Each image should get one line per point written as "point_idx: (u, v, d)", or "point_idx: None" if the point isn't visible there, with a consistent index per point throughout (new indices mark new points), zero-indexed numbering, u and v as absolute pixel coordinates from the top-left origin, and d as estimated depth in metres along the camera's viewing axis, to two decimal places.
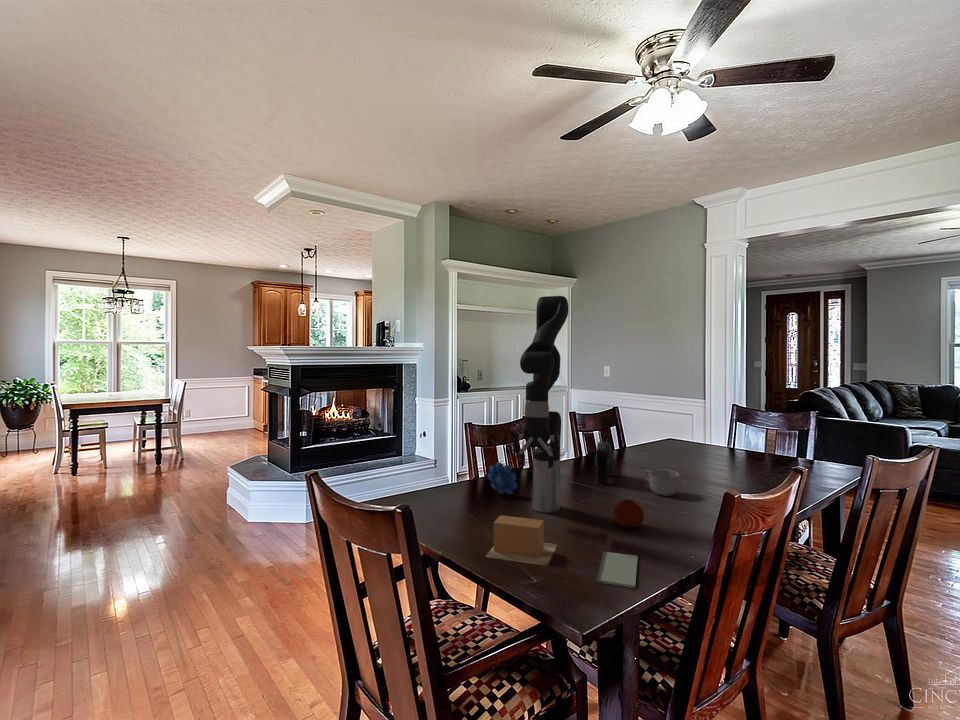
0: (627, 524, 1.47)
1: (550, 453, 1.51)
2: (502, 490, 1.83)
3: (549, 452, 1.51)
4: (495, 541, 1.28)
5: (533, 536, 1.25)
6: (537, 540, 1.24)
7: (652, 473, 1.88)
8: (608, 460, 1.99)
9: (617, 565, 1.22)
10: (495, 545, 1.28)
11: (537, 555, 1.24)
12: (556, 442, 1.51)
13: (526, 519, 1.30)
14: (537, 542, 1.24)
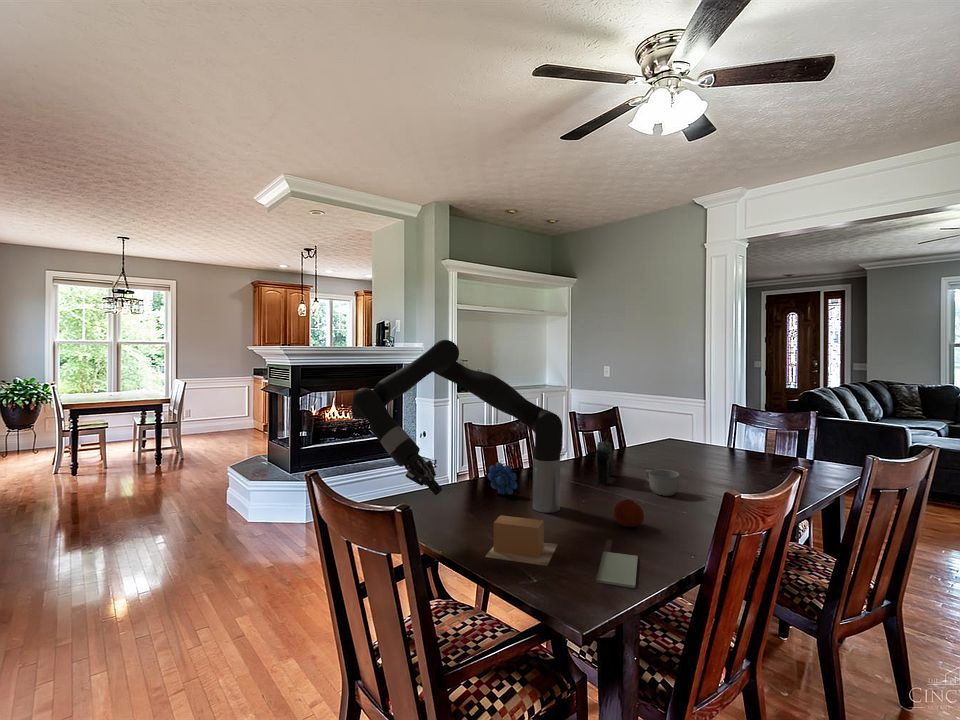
0: (627, 524, 1.47)
1: (432, 476, 1.38)
2: (502, 490, 1.83)
3: (431, 476, 1.38)
4: (495, 541, 1.28)
5: (533, 536, 1.25)
6: (537, 540, 1.24)
7: (652, 473, 1.88)
8: (608, 460, 1.99)
9: (617, 565, 1.22)
10: (495, 545, 1.28)
11: (537, 555, 1.24)
12: (431, 466, 1.42)
13: (526, 519, 1.30)
14: (537, 542, 1.24)
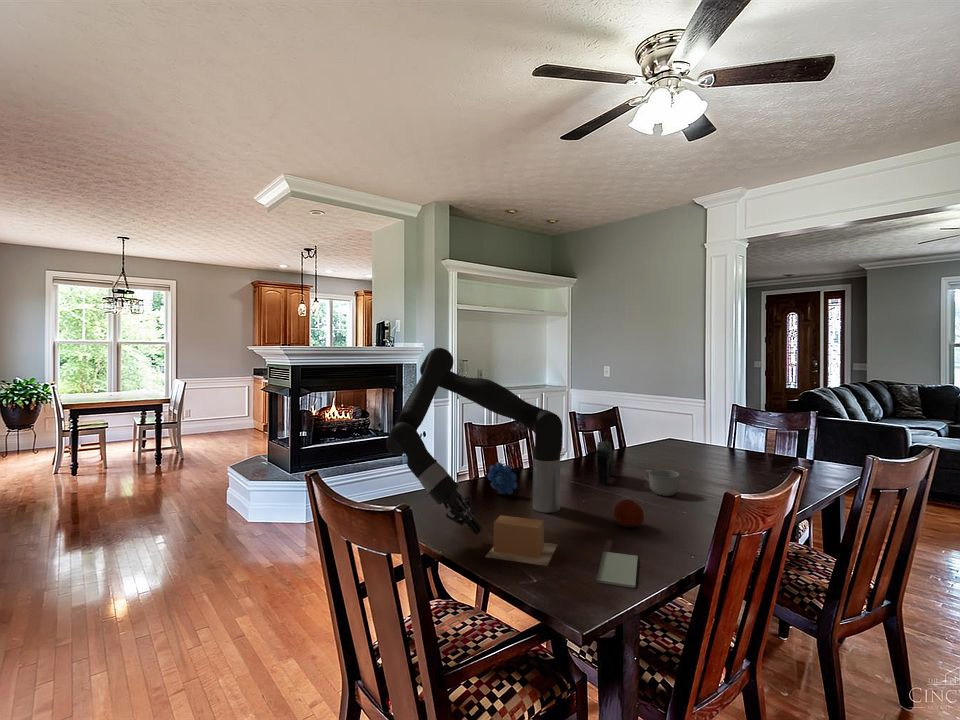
0: (627, 524, 1.47)
1: (472, 514, 1.34)
2: (502, 490, 1.83)
3: (470, 514, 1.34)
4: (495, 541, 1.28)
5: (533, 536, 1.25)
6: (537, 540, 1.24)
7: (652, 473, 1.88)
8: (608, 460, 1.99)
9: (617, 565, 1.22)
10: (495, 545, 1.28)
11: (537, 555, 1.24)
12: (470, 503, 1.38)
13: (526, 519, 1.30)
14: (537, 542, 1.24)
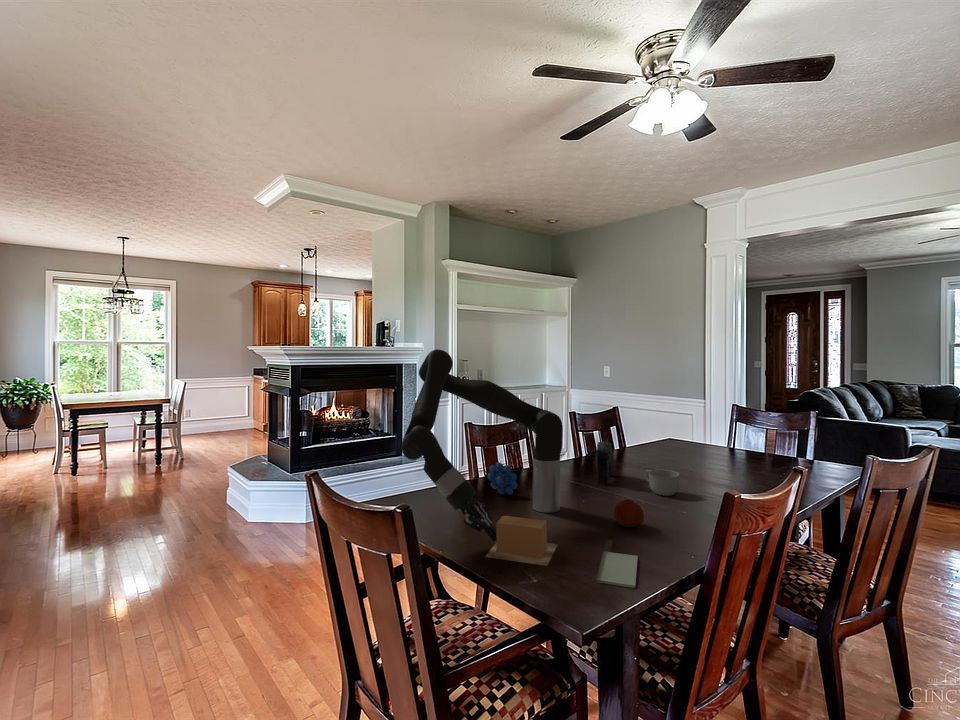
0: (627, 524, 1.47)
1: (489, 520, 1.32)
2: (502, 490, 1.83)
3: (488, 520, 1.32)
4: (498, 541, 1.28)
5: (536, 536, 1.24)
6: (540, 540, 1.24)
7: (652, 473, 1.88)
8: (608, 460, 1.99)
9: (617, 565, 1.22)
10: (498, 545, 1.28)
11: (540, 555, 1.24)
12: (487, 508, 1.36)
13: (529, 519, 1.30)
14: (540, 542, 1.24)
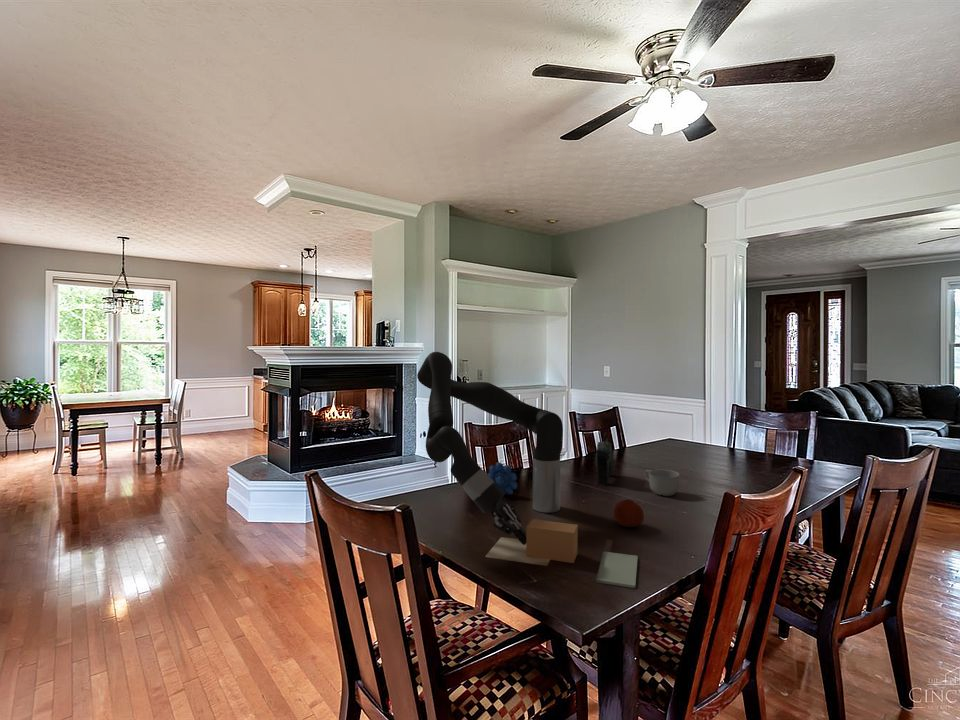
0: (627, 524, 1.47)
1: (519, 523, 1.30)
2: (502, 490, 1.83)
3: (517, 523, 1.29)
4: (528, 546, 1.25)
5: (568, 541, 1.21)
6: (572, 545, 1.21)
7: (652, 473, 1.88)
8: (608, 460, 1.99)
9: (617, 565, 1.22)
10: (528, 550, 1.25)
11: (572, 561, 1.21)
12: (515, 511, 1.34)
13: (559, 523, 1.27)
14: (572, 547, 1.21)
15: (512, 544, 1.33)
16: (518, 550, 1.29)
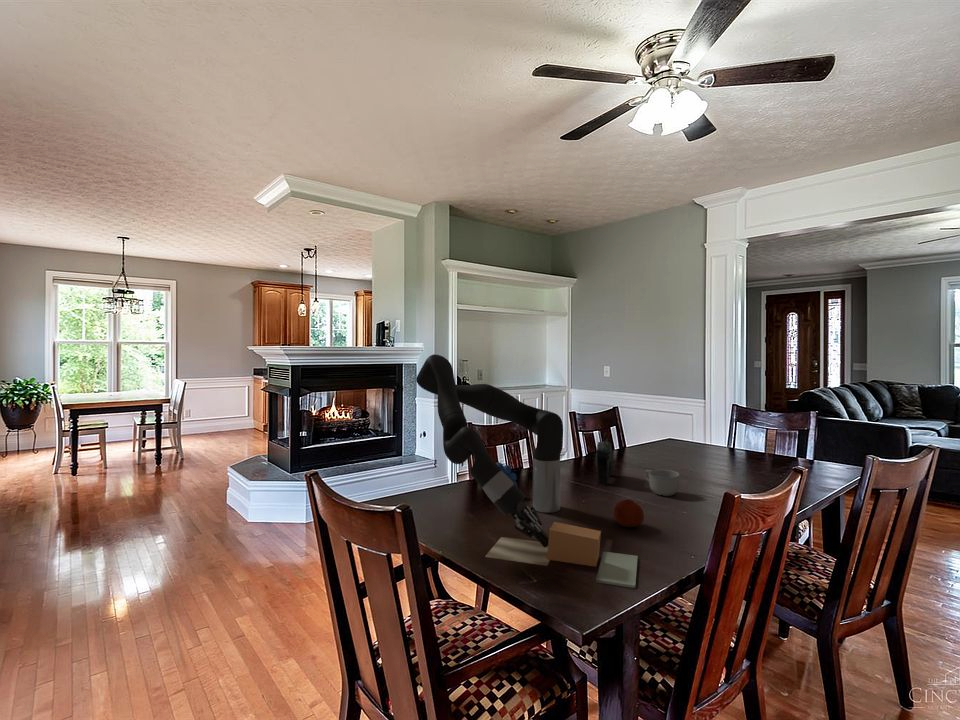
0: (627, 524, 1.47)
1: (540, 526, 1.28)
2: None
3: (538, 526, 1.27)
4: (549, 549, 1.23)
5: (591, 547, 1.19)
6: (595, 552, 1.19)
7: (652, 473, 1.88)
8: (608, 460, 1.99)
9: (617, 565, 1.22)
10: (549, 553, 1.23)
11: None
12: (535, 513, 1.32)
13: (582, 528, 1.25)
14: (595, 554, 1.19)
15: (512, 544, 1.33)
16: (518, 550, 1.29)
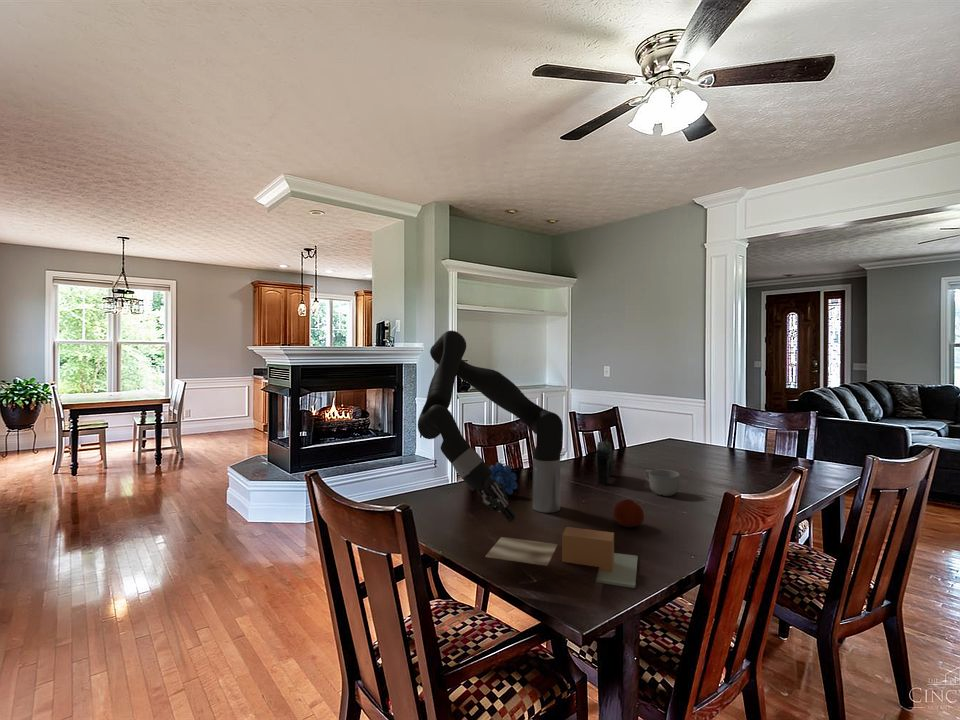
0: (627, 524, 1.47)
1: (506, 501, 1.32)
2: None
3: (504, 501, 1.32)
4: (564, 554, 1.22)
5: (605, 549, 1.18)
6: (610, 554, 1.18)
7: (652, 473, 1.88)
8: (608, 460, 1.99)
9: (617, 565, 1.22)
10: (564, 559, 1.22)
11: (610, 570, 1.18)
12: (503, 489, 1.36)
13: (595, 531, 1.24)
14: (610, 556, 1.18)
15: (512, 544, 1.33)
16: (518, 550, 1.29)
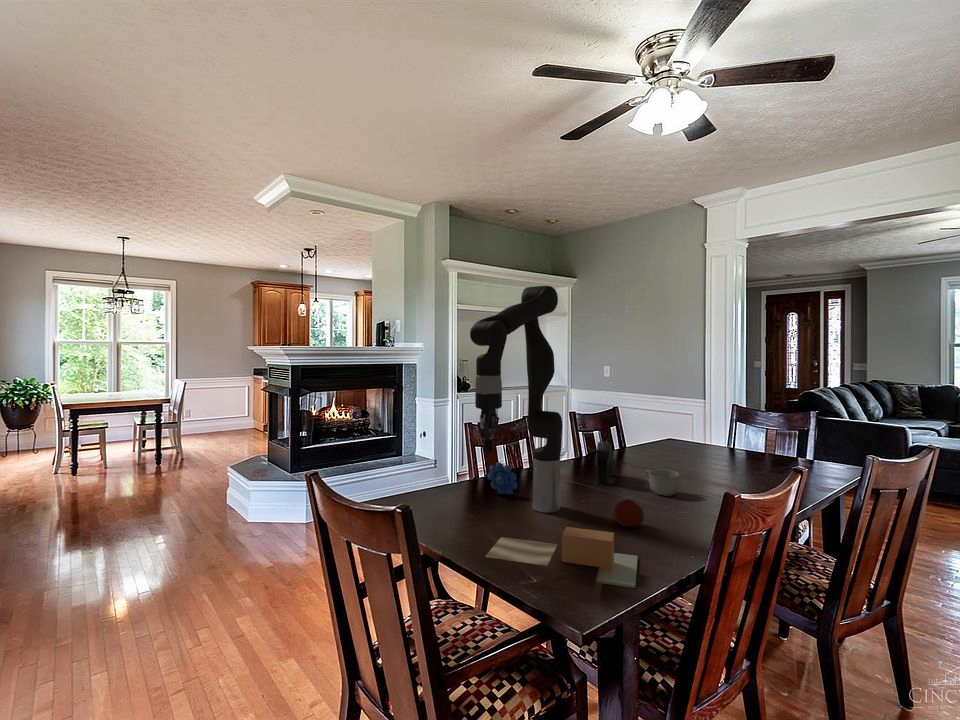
0: (627, 524, 1.47)
1: (493, 435, 1.40)
2: (502, 490, 1.83)
3: (493, 434, 1.40)
4: (564, 554, 1.22)
5: (605, 549, 1.18)
6: (610, 554, 1.18)
7: (652, 473, 1.88)
8: (608, 460, 1.99)
9: (617, 565, 1.22)
10: (564, 559, 1.22)
11: (610, 570, 1.18)
12: (497, 423, 1.44)
13: (595, 531, 1.24)
14: (610, 556, 1.18)
15: (512, 544, 1.33)
16: (518, 550, 1.29)
